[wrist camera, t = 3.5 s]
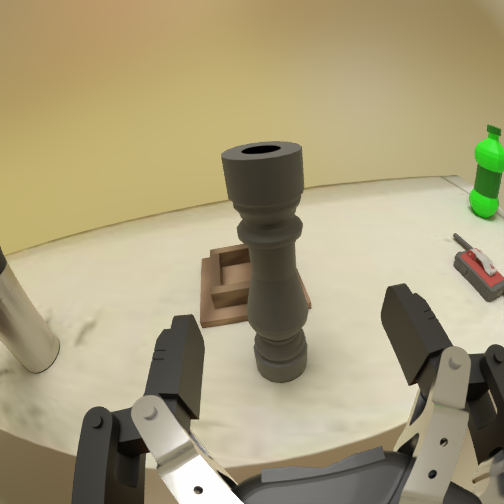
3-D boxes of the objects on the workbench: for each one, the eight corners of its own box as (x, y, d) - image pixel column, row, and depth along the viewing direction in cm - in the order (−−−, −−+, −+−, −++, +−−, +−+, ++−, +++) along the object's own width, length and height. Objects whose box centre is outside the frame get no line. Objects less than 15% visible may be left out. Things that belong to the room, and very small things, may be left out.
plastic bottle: (471, 218, 52) (485, 125, 38) (463, 202, 60) (473, 119, 46) (499, 225, 48) (516, 135, 34) (489, 208, 55) (501, 128, 42)
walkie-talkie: (512, 295, 31) (455, 238, 47) (521, 276, 28) (459, 221, 45) (490, 309, 30) (429, 245, 47) (500, 290, 28) (434, 227, 45)
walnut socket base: (202, 327, 38) (194, 308, 36) (203, 263, 51) (198, 245, 49) (310, 308, 39) (311, 286, 36) (286, 249, 52) (285, 230, 50)
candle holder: (246, 362, 32) (200, 156, 19) (281, 334, 35) (263, 138, 22) (281, 391, 28) (257, 166, 14) (316, 359, 31) (323, 145, 17)
